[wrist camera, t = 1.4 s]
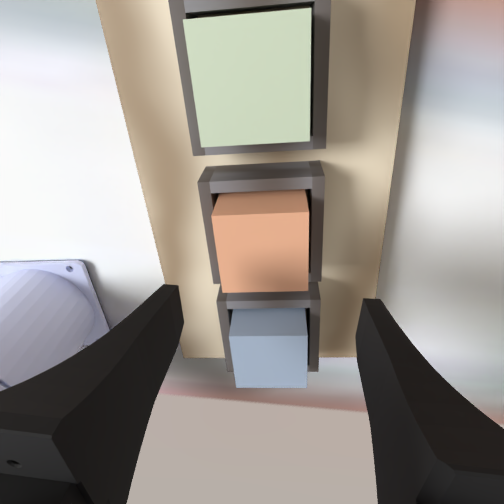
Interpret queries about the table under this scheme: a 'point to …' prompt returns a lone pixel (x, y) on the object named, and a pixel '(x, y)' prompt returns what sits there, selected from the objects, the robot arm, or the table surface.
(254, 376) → the slate key
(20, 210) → the table surface
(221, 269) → the terracotta key
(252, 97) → the sage key
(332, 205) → the keypad base
